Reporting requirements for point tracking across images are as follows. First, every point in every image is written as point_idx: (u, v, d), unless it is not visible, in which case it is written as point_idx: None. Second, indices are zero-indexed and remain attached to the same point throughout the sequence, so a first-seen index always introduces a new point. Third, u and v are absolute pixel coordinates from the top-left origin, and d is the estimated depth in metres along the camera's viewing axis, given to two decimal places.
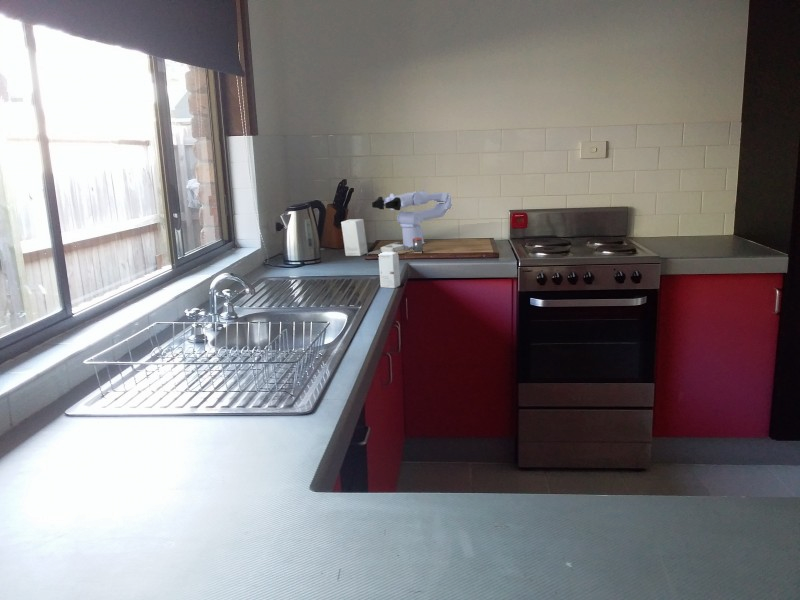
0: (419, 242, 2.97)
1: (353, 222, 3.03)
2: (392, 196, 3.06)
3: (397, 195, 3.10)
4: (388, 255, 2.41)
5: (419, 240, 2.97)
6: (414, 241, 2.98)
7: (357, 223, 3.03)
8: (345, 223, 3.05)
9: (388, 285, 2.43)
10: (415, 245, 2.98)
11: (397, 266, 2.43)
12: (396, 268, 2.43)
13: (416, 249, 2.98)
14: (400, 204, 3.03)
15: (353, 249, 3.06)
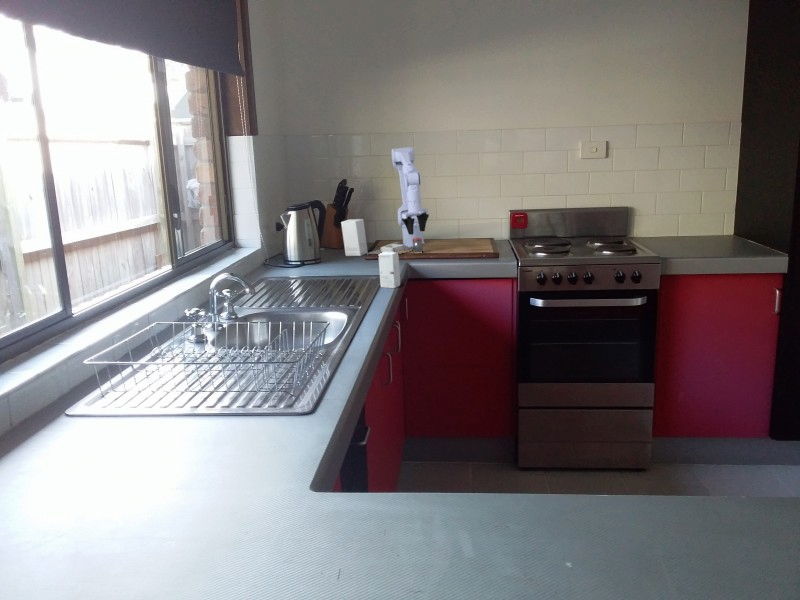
0: (419, 242, 2.97)
1: (353, 222, 3.03)
2: (421, 213, 2.94)
3: (419, 203, 2.93)
4: (388, 255, 2.41)
5: (419, 240, 2.97)
6: (414, 241, 2.98)
7: (357, 223, 3.03)
8: (345, 223, 3.05)
9: (388, 285, 2.43)
10: (415, 245, 2.98)
11: (397, 266, 2.43)
12: (396, 268, 2.43)
13: (416, 249, 2.98)
14: None
15: (353, 249, 3.06)
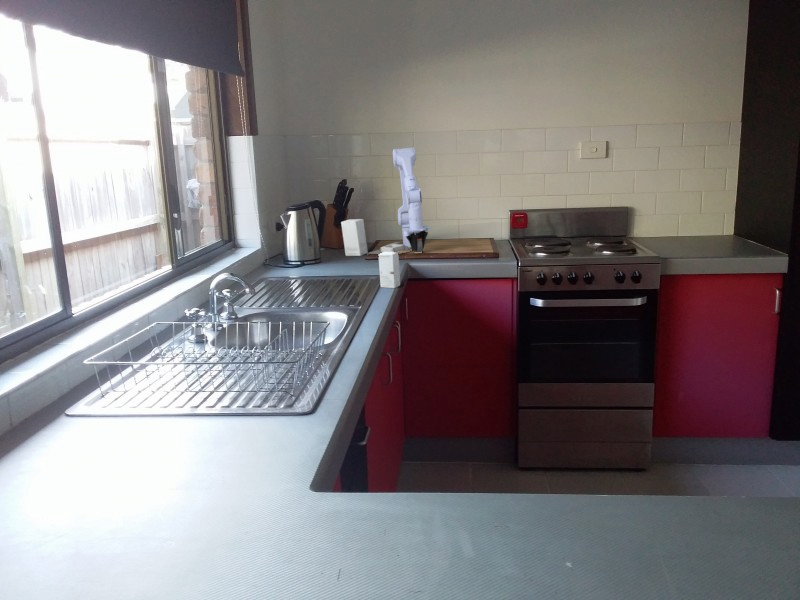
0: (419, 242, 2.97)
1: (353, 222, 3.03)
2: None
3: (420, 221, 2.95)
4: (388, 255, 2.41)
5: (419, 240, 2.97)
6: None
7: (357, 223, 3.03)
8: (345, 223, 3.05)
9: (388, 285, 2.43)
10: None
11: (397, 266, 2.43)
12: (396, 268, 2.43)
13: None
14: None
15: (353, 249, 3.06)
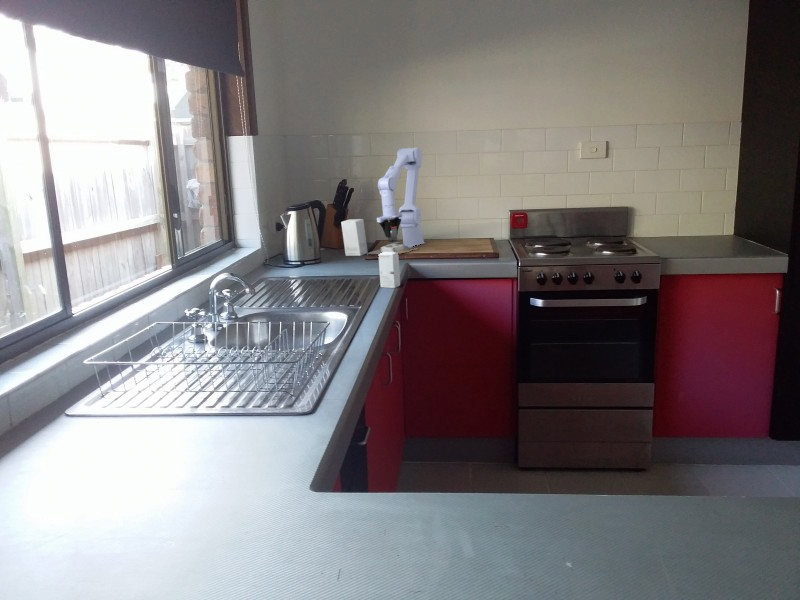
0: (394, 230, 3.01)
1: (353, 222, 3.03)
2: (395, 217, 3.01)
3: (393, 207, 2.99)
4: (388, 255, 2.41)
5: (394, 228, 3.01)
6: None
7: (357, 223, 3.03)
8: (345, 223, 3.05)
9: (388, 285, 2.43)
10: None
11: (397, 266, 2.43)
12: (396, 268, 2.43)
13: (391, 237, 3.02)
14: None
15: (353, 249, 3.06)
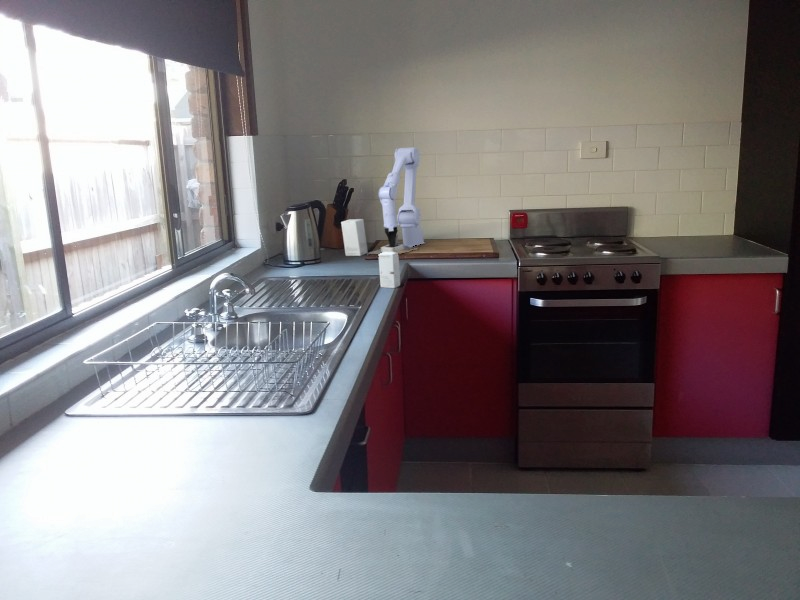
0: (397, 238, 3.04)
1: (353, 222, 3.03)
2: None
3: None
4: (388, 255, 2.41)
5: (397, 236, 3.04)
6: None
7: (357, 223, 3.03)
8: (345, 223, 3.05)
9: (388, 285, 2.43)
10: None
11: (397, 266, 2.43)
12: (396, 268, 2.43)
13: (395, 245, 3.03)
14: None
15: (353, 249, 3.06)
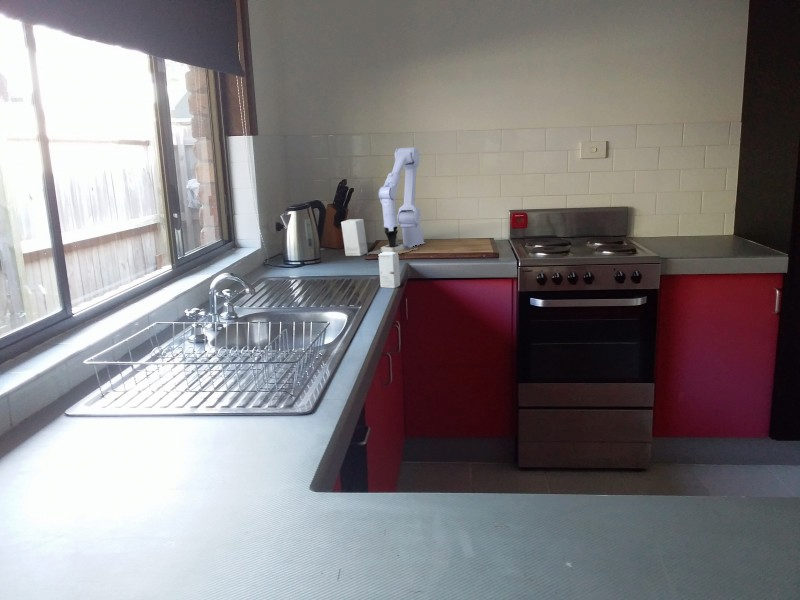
0: (397, 239, 3.04)
1: (353, 222, 3.03)
2: None
3: None
4: (388, 255, 2.41)
5: None
6: None
7: (357, 223, 3.03)
8: (345, 223, 3.05)
9: (388, 285, 2.43)
10: None
11: (397, 266, 2.43)
12: (396, 268, 2.43)
13: (395, 246, 3.04)
14: None
15: (353, 249, 3.06)
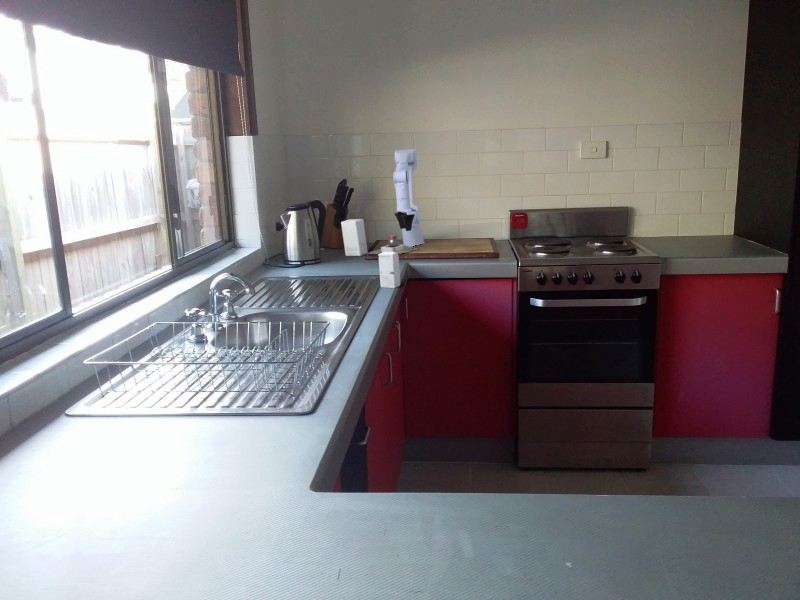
0: (397, 239, 3.04)
1: (353, 222, 3.03)
2: None
3: None
4: (388, 255, 2.41)
5: None
6: (393, 238, 3.02)
7: (357, 223, 3.03)
8: (345, 223, 3.05)
9: (388, 285, 2.43)
10: (394, 242, 3.03)
11: (397, 266, 2.43)
12: (396, 268, 2.43)
13: (395, 246, 3.04)
14: None
15: (353, 249, 3.06)
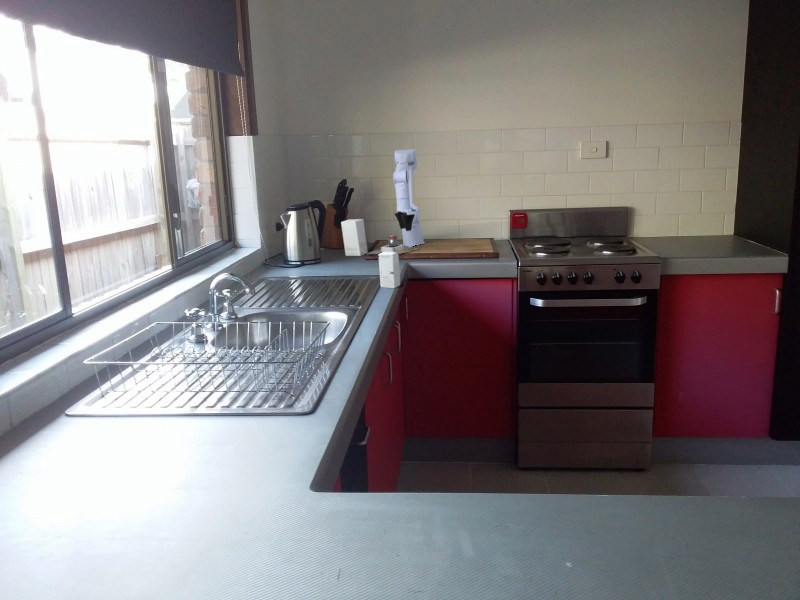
0: (397, 239, 3.04)
1: (353, 222, 3.03)
2: None
3: None
4: (388, 255, 2.41)
5: None
6: (393, 238, 3.03)
7: (357, 223, 3.03)
8: (345, 223, 3.05)
9: (388, 285, 2.43)
10: (394, 242, 3.03)
11: (397, 266, 2.43)
12: (396, 268, 2.43)
13: (395, 246, 3.04)
14: None
15: (353, 249, 3.06)
